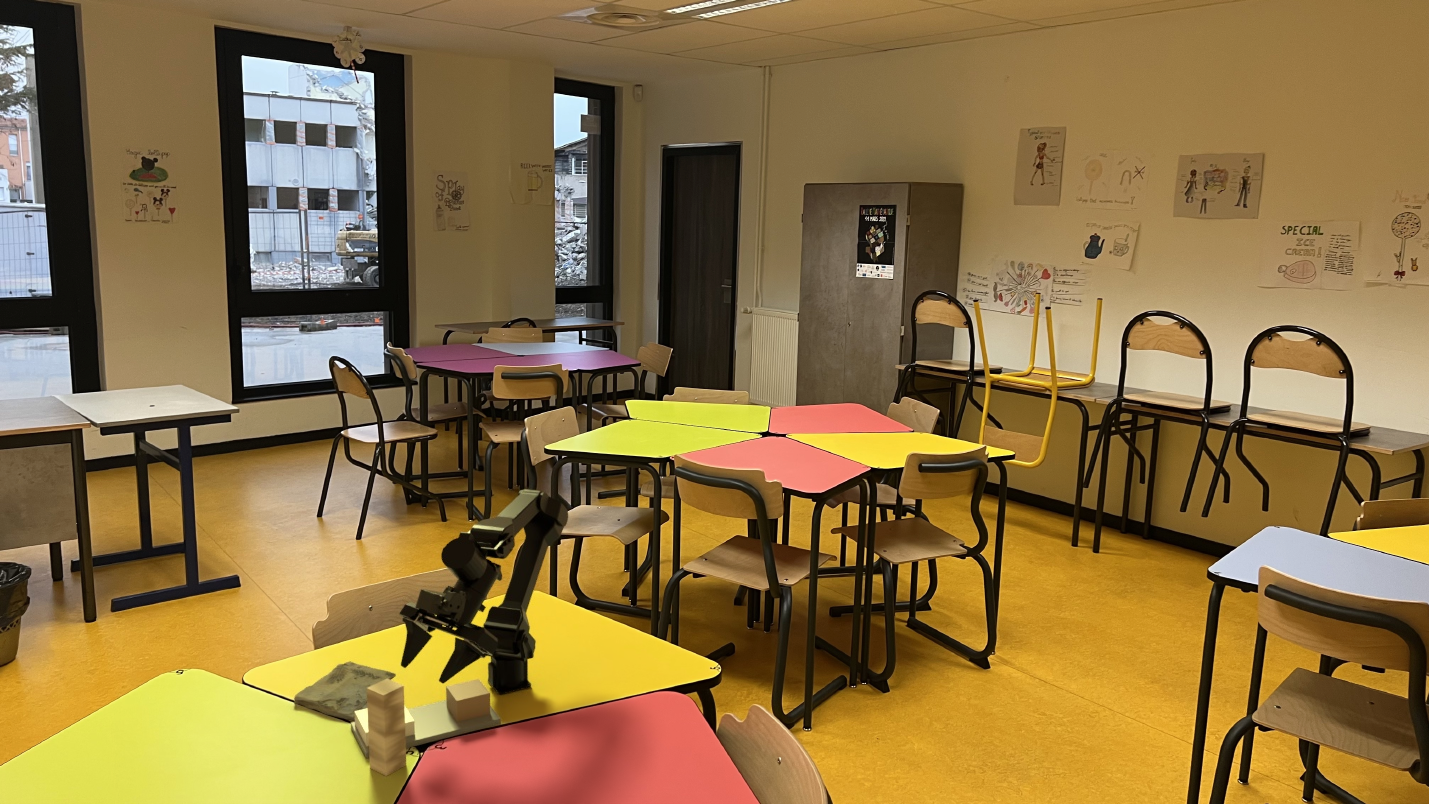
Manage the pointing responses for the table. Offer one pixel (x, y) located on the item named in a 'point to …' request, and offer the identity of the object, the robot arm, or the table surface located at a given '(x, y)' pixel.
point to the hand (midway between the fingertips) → (421, 674)
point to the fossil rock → (342, 690)
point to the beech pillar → (386, 726)
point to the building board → (439, 716)
